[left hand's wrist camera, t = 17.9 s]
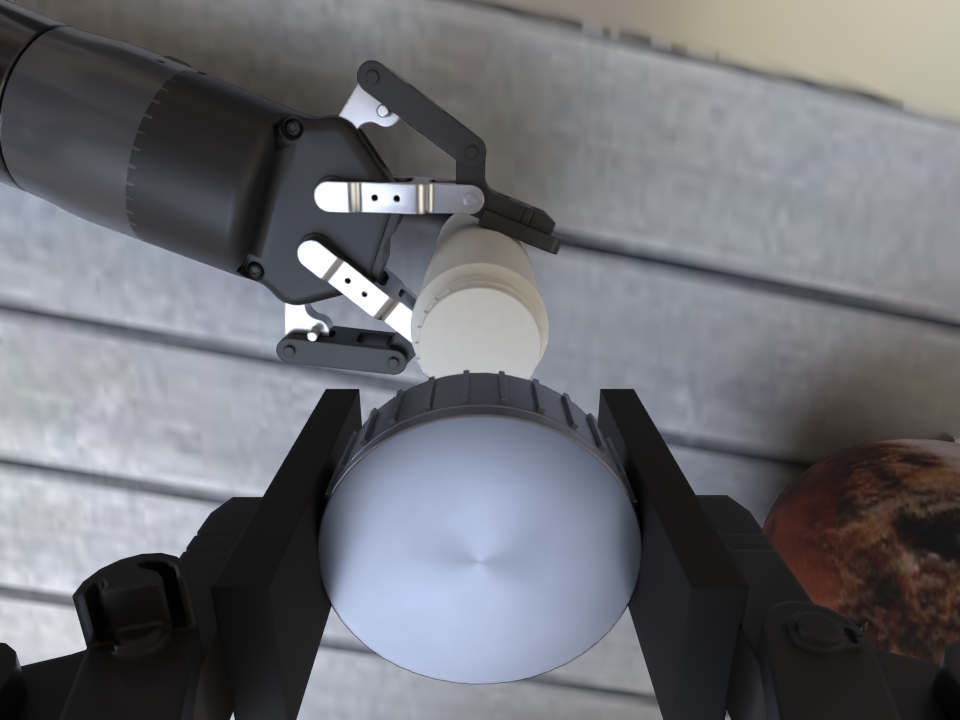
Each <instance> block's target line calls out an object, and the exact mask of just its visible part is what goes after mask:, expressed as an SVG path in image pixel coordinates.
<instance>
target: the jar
mask: <svg viewBox="0 0 960 720" xmlns="http://www.w3.org/2000/svg"><path fill="white" fill-rule="evenodd" d="M410 333H411V341H412V345H413V348H414V351H415V354H416V356H417V361H418V363H419V365H420V367H421V369H422V372H423V374H425V373H427V375H428V376H429V377H432V376H435V379H437V378H440V377H444V376H449V375H456V374H463V371H464V370H469V372H470V373H496V374H498V373H499V371H504V372H505V375H510V376H515V377H519V378H523V379H527V380H528V379H529V378H530V377H531V375H532V374H533V372H534V371H535V368H536V366H537V365H538V363H539V362H540V360H541V358H542V356H543V354H544V352H545V349H546V346H547V343H548V337H549V320H548V314H547V311H546V307H545V304H544V301H543V298H542V296H541V293H540V290H539V287H538V284H537V281H536V278H535V276H534V273H533V270H532V267H531V264H530V261H529V258H528V255H527V253H526V250H525V247H524V244H523V242H522V241H519V240H517V239H514V238H511V237H509V236H506V235H504V234H502V233H499V232H497V231H494V230H491V229H489V228H486V227H484V226H481V225H479V218H476V217H474V216H471V215H469V214H453V215H452V216H451V217H450V218H449V219H448V220H447V221H446V222H445V224H444V225H443V227H442V229H441V231H440V233H439V236H438V239H437V242H436V245H435V248H434V251H433V254H432V256H431V259H430V262H429V265H428V268H427V271H426V274H425V277H424V280H423V282H422V285H421V288H420V291H419V294H418V297H417V300H416V303H415V306H414V308H413V311H412V316H411V323H410Z"/></svg>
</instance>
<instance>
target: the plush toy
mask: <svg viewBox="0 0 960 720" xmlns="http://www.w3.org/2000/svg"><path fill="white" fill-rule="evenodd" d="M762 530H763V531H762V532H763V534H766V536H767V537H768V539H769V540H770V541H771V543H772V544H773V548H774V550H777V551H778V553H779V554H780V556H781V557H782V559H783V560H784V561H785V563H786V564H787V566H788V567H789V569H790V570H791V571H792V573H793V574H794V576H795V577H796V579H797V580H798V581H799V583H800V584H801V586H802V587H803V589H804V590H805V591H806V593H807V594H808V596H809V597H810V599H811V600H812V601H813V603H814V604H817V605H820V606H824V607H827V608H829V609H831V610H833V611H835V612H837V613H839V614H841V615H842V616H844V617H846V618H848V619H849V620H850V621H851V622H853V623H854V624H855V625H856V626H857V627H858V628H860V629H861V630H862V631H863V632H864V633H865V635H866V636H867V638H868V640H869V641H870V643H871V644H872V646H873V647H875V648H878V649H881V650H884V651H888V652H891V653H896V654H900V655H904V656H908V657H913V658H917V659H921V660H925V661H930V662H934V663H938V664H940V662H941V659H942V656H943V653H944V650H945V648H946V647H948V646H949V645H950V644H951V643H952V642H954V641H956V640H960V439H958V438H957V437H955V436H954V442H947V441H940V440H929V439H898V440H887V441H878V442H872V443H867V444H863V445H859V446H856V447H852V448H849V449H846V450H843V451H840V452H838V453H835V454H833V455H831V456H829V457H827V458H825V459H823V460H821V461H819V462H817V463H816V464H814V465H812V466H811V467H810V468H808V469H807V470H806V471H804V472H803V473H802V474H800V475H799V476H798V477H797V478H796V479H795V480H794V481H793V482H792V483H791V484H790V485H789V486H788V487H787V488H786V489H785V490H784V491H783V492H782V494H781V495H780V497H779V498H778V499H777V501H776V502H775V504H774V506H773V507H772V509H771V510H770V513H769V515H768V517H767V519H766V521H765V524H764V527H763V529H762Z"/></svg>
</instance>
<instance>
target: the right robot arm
mask: <svg viewBox="0 0 960 720" xmlns="http://www.w3.org/2000/svg"><path fill="white" fill-rule="evenodd" d="M357 79H358V84H357V86H356V88H355V89H354V91H353V93H352V94H351V96H350V98H349V99H348V101H347V103H346V104H345V106H344V108H343V109H342V111H341V113H340V114H339V115H328V116H323V117H314V116H310V115H307V114H304V113H301V112H299V111H296V110H294V109H291V108H289V107H286V106H284V105H281V104H279V103H276V102H274V101H272V100H269V99H267V98H264V97H262V96H259V95H257V94H254V93H252V92H249V91H247V90H244V89H242V88H239V87H237V86H235V85H232V84H230V83H227V82H225V81H222V80H220V79H217V78H215V77H212V76H210V75H207V74H205V73H202V72H200V71H198V70H195V69H192V67H191V66H189V65H187V64H186V63H184V62H182V61H180V60H178V59H175V58H173V57H170V56H167V57H166V56H160V55H158V54H155V53H153V52H150V51H148V50H145V49H143V48H140V47H138V46H135V45H132V44H129V43H126V42H122V41H119V40H115V39H111V38H107V37H103V36H99V35H95V34H92V33H88V32H85V31H82V30H80V29H77V28H73V27H71V26H68V25H66V24H64V23H61V22H59V21H56V20H54V19H51V18H49V17H46V16H44V15H41V14H39V13H36V12H34V11H31V10H29V9H26V8H24V7H21V6H19V5H17V4H14V3H12V2H9V1H7V0H0V182H2V183H4V184H7V185H10V186H13V187H15V188H18V189H21V190H23V191H26V192H29V193H31V194H33V195H35V196H38V197H40V198H42V199H45V200H47V201H49V202H51V203H52V204H54V205H56V206H58V207H60V208H62V209H64V210H66V211H68V212H70V213H72V214H74V215H76V216H78V217H80V218H83V219H85V220H88V221H90V222H92V223H95V224H98V225H101V226H103V227H106V228H109V229H111V230H114V231H117V232H120V233H122V234H125V235H128V236H131V237H133V238H136V239H139V240H142V241H144V242H147V243H150V244H153V245H156V246H158V247H161V248H164V249H167V250H169V251H172V252H174V253H177V254H180V255H183V256H185V257H188V258H191V259H194V260H196V261H199V262H202V263H205V264H207V265H210V266H213V267H216V268H218V269H221V270H224V271H227V272H229V273H232V274H235V275H238V276H241V277H244V278H248V279H251V280H254V281H257V282H259V283H261V284H263V285H264V286H266V287H267V288H268V289H269V290H270V291H271V292H272V293H273V294H274V295H275V296H276V297H277V298H278V299H280V300H281V301H283V302H284V303H285V335H284V337H283V339H282V340H281V341H280V342H279V343H278V345H277V348H276V351H277V354H278V356H279V358H280V359H281V360H283V361H285V362H287V363H294V364H303V365H312V366H321V367H330V368H339V369H348V370H357V371H366V372H375V373H383V374H392V375H395V374H399V373H401V372H403V371H404V369H405V368H406V365H407V364H408V362H409V361H410V360H411V359H412V358H413V357H414V356H415V355H416V354H415V351H414V348H413V345H412V341H411V333H410V323H411V316H412V311H413V308H414V306H415V303H416V300H417V296H416V295H415V294H413V293H412V292H411V291H410V290H408V289H407V288H406V287H405V286H404V284H403V282H402V281H401V280H400V279H399V278H398V277H397V276H396V275H394V274H393V273H392V272H391V271H389V270H388V269H387V268H386V267H385V266H386V263H387V261H388V258H389V255H390V239H391V236H392V234H393V233H394V231H395V230H396V228H397V227H398V225H399V224H400V222H401V220H402V217H403V214H427V213H446V214H469V215H471V216H474V217H476V218H479V225H481V226H484V227H486V228H489V229H491V230H494V231H497V232H499V233H502V234H504V235H506V236H509V237H511V238H514V239H517V240H519V241H522V242H524V243H527V244H529V245H532V246H534V247H537V248H539V249H542V250H544V251H547V252H550V253H553V254H557V253H558V251H559V248H560V246H561V244H562V241H563V238H562V237H561V235H560V234H559V233H557V232H555V231H553V229H554V226H555V222H554V221H553V220H552V218H551V217H550V216H549V215H548V214H547V213H546V212H545V211H543V210H541V209H538V208H536V207H534V206H531V205H529V204H526V203H523V202H521V201H519V200H516V199H514V198H511V197H509V196H506V195H504V194H501V193H499V192H496V191H494V190H493V189H491V188H490V187H489V186H488V184H487V182H486V180H485V157H486V147H485V144H484V142H483V140H482V139H481V138H479V137H478V136H477V135H476V134H474V133H473V132H472V131H470V130H469V129H468V128H466V127H465V126H464V125H463V124H461V123H460V122H459V121H457V120H456V119H455V118H453V117H452V116H451V115H449V114H448V113H447V112H446V111H444V110H443V109H442V108H440V107H439V106H438V105H436V104H435V103H434V102H433V101H431V100H430V99H429V98H427V97H426V96H425V95H423V94H422V93H421V92H420V91H418V90H417V89H416V88H414V87H413V86H412V85H410V84H409V83H408V82H406V81H405V80H404V79H403V78H401V77H400V76H399V75H397V74H396V73H395V72H393V71H392V70H391V69H390V68H388V67H386V66H385V65H383V64H381V63H379V62H377V61H367V62H365V63H363V64H362V65H361V66H360V68H359V70H358V74H357ZM401 119H402V120H404V121H405V122H406V123H408V124H409V125H410V126H412V127H413V128H414V129H416V130H417V131H418V132H420V133H421V134H422V135H424V136H425V137H426V138H428V139H429V140H430V141H432V142H433V143H434V144H436V145H437V146H438V147H440V148H441V149H442V150H444V151H445V152H446V153H448V154H449V155H450V156H452V157H453V158H454V159H456V179H441V178H431V177H415V176H392V174H391V173H390V171H389V170H388V168H387V167H386V165H385V164H384V162H383V161H382V159H381V158H380V156H379V155H378V153H377V152H376V150H375V148H374V147H373V145H372V144H371V142H370V141H369V139H368V138H367V136H366V135H365V133H364V132H363V130H362V127H363V126H364V125H365V124H367V123H369V122H374V123H376V124H378V125H380V126H384V127H389V126H394V125H396V124H397V123H398V122H399V121H400V120H401ZM364 291H365V292H367V294H365V293H364ZM340 295H345V296H346V297H348V298H349V299H350V300H352V301H353V302H354V303H355V304H357V305H358V306H359V307H360V308H362V309H363V310H364V311H366V312H367V313H368V314H369V315H371V316H372V317H374V318H376V319H378V320H383V321H384V322H386V323H387V324H388V325H389V326H391V327H392V328H393V329H395V330H396V331H397V332H396V333H392V332H383V331H374V330H366V329H357V328H348V327H339V326H333V323H332V320H331V319H330V318H329V317H328V316H326V315H324V314H321V313H318V312H316V311H315V310H314V309H313V308H312V306H311V304H310V303H313V302H317V301H321V300H325V299H329V298H332V297H336V296H340Z"/></svg>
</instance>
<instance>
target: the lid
mask: <svg viewBox="0 0 960 720" xmlns="http://www.w3.org/2000/svg"><path fill="white" fill-rule="evenodd" d="M323 498H324V499H327V502H326V505H325V507H324V510H323V513H322V516H321V519H320V524H319V529H318V535H317V551H318V560H319V569H320V577H321V580H322V584H323V587H324V590H325V593H326V595H327V597H328V599H329V601H330V603H331V605H332V607H333V609H334V610H335V612H336V613H337V615H338V616H339V618H340V619H341V621H342V622H343V623H344V624H345V626H346V627H347V628H348V629H349V630H350V631H351V632H352V634H353V635H354V636H355V637H357V638H358V639H359V640H360V641H361V642H362V643H363V644H364V645H365V646H367V647H368V648H369V649H371V650H372V651H374V652H375V653H376V654H378V655H379V656H381V657H382V658H384V659H386V660H388V661H389V662H391V663H393V664H395V665H397V666H399V667H401V668H404V669H406V670H408V671H411V672H413V673H416V674H419V675H422V676H426V677H429V678H433V679H437V680H442V681H448V682H453V683H464V684H497V683H505V682H513V681H518V680H522V679H527V678H531V677H534V676H537V675H540V674H543V673H546V672H549V671H551V670H554V669H556V668H558V667H560V666H563V665H565V664H567V663H569V662H570V661H572V660H574V659H575V658H577V657H579V656H580V655H582V654H583V653H585V652H586V651H587V650H589V649H590V648H591V647H593V646H594V645H595V644H597V643H598V642H599V641H600V640H601V639H602V638H603V637H604V636H605V635H606V634H607V633H608V632H609V631H610V630H611V629H612V628H613V626H614V625H615V624H616V622H617V621H618V620H619V619H620V617H621V616H622V614H623V613H624V611H625V609H626V608H627V606H628V604H629V603H630V601H631V598H632V596H633V594H634V591H635V589H636V586H637V583H638V579H639V574H640V566H641V557H642V543H643V541H642V530H641V526H640V522H639V517H638V513H637V511H636V508H635V506H638V502H637V499H636V497H635V494H634V492H633V490H632V487H631V485H630V483H629V480H628V478H627V475H626V473H625V471H624V468H623V466H622V463H621V461H620V459H619V456H618V454H617V452H616V449H615V447H614V444H613V442H612V440H611V438H610V437H609V438H607V439H605V437H604V435H603V434H602V432H601V430H600V429H599V428H598V426H597V423H596V421H595V418H594V416H593V415H592V414H591V413H589V414H588V415H587V414H586V413H584V412H583V411H582V410H581V409H580V408H579V407H578V406H577V405H576V404H574V403H573V402H571V400H570V397H569V395H567V394H566V393H564V394H563V395H561V394H559V393H557V392H555V391H553V390H552V389H550V388H548V387H546V386H544V385H541V384H539V380H537V379H534V378H533V380H532V381H530V380H527V379H523V378H519V377H515V376H510V375H505V372H504V371H499V373H498V374H496V373H470V372H469V370H464V371H463V374H456V375H449V376H444V377H440V378H437V379H435V376H432V377H429V380H428V381H426V382H424V383H422V384H419V385H417V386H414V387H412V388H410V389H408V390H406V391H404V390H403V389H401V390H399V391H398V392H397V395H396V396H395V397H394V398H392V399H391V400H390V401H388V402H387V403H386V404H384V405H383V406H382V407H380V408H379V409H378V410H377V409H376V408H374V409H373V410H372V411H371V413H370V416H369V418H368V420H367V421H366V422H365V424H364V425H363V426H362V428H361V429H360V430H359V432H358V433H357V432H355V431H354V432H353V433H352V435H351V437H350V439H349V442H348V444H347V446H346V449H345V451H344V454H343V456H342V458H340V459H339V461H338V463H337V466H336V468H335V471H334V473H333V475H332V478H331V480H330V482H329V485H328V487H327V489H326V492H325V494H324V497H323Z"/></svg>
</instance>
